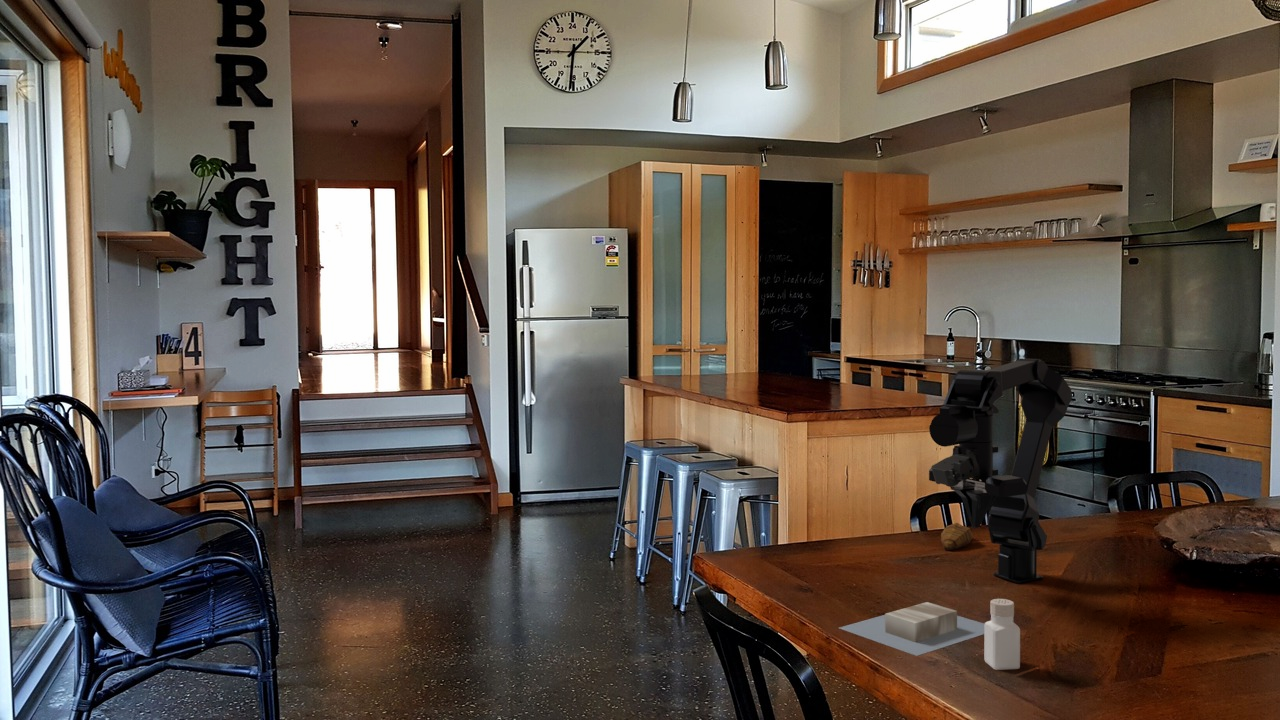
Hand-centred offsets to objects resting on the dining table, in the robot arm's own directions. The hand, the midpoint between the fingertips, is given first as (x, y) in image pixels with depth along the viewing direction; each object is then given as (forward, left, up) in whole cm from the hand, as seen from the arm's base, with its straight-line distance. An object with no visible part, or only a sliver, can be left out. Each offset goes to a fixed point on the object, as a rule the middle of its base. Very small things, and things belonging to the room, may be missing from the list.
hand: (975, 527), depth 181 cm
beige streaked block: (+17, +11, -10) cm, 23 cm away
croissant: (-22, -29, -13) cm, 39 cm away
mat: (+22, +11, -12) cm, 27 cm away
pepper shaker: (+22, +29, -12) cm, 38 cm away
